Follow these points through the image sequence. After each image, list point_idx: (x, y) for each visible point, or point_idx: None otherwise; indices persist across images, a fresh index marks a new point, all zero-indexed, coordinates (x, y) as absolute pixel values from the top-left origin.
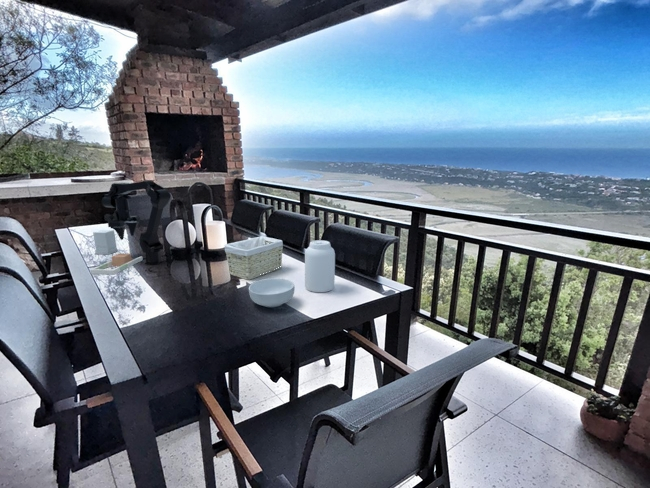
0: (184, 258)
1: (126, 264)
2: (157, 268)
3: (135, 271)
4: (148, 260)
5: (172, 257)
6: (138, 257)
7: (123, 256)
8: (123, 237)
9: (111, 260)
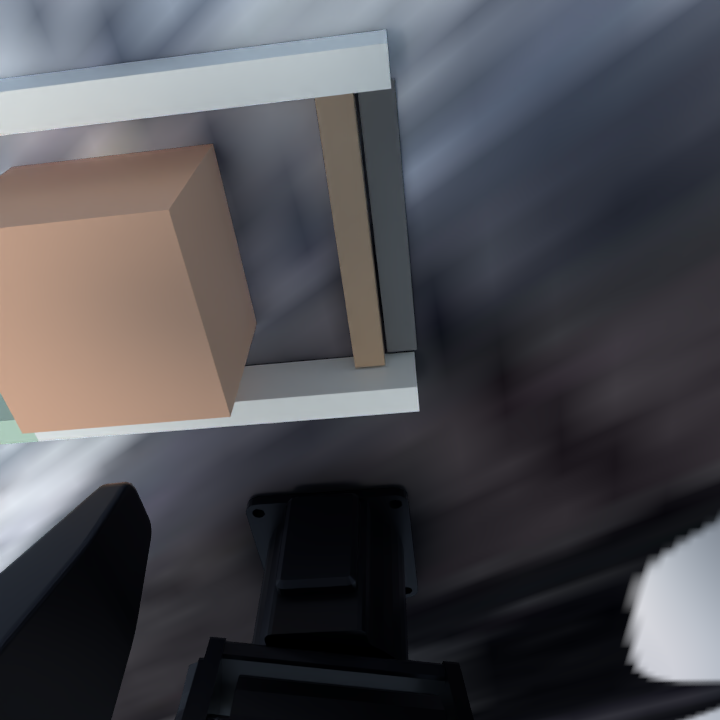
0: (532, 681)
1: (24, 437)
2: (170, 639)
3: (3, 541)
4: (270, 553)
5: (566, 594)
6: (347, 399)
7: (40, 417)
8: (134, 602)
9: (36, 93)
